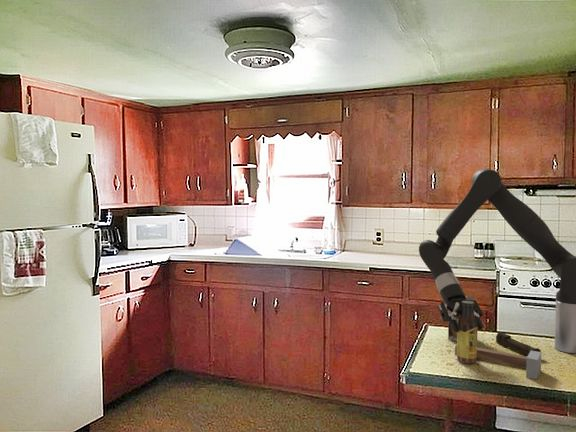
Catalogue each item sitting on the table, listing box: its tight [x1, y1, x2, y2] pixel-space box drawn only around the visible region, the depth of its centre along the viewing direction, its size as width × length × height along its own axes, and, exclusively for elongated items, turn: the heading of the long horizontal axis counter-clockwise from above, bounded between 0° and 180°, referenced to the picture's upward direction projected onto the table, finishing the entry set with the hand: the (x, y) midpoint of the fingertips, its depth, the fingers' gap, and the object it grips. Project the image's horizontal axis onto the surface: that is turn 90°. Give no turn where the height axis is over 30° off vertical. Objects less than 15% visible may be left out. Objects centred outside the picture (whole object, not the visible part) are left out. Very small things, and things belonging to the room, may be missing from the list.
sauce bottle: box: [456, 301, 479, 365], centre depth 160 cm, size 6×6×20 cm
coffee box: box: [447, 295, 475, 342], centre depth 183 cm, size 9×6×16 cm
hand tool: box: [495, 331, 542, 356], centre depth 170 cm, size 19×4×5 cm, turn 15°
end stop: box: [525, 351, 542, 380], centre depth 149 cm, size 8×3×6 cm, turn 145°
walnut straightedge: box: [454, 344, 527, 369], centre depth 161 cm, size 2×23×3 cm, turn 55°
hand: (469, 330), depth 159 cm, fingers open, 8 cm apart
